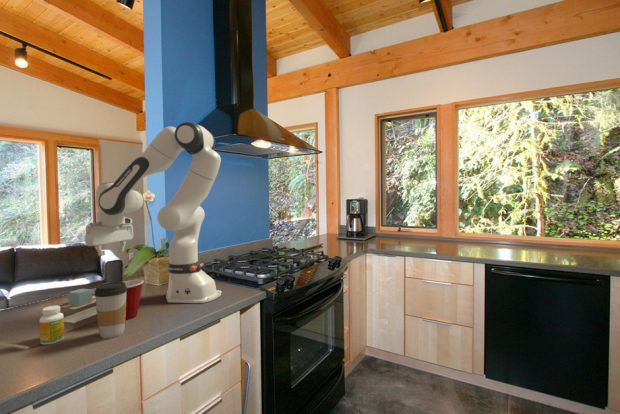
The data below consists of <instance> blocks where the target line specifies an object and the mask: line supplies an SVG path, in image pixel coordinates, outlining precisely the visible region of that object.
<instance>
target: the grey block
mask: <svg viewBox="0 0 620 414" xmlns="http://www.w3.org/2000/svg"><path fill="white" fill-rule="evenodd" d="M95 315H96V316H97V309H96V305H94V306H92V307H89V308H86V309H84V310H81V311H78V312H75V313H73V314H70V315H67V316H64V323H70V324H76V323H78V322H80V321H83V320H86V319H89V318H91V317H93V316H95Z"/></svg>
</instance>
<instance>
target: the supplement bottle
mask: <svg viewBox="0 0 620 414" xmlns="http://www.w3.org/2000/svg"><path fill="white" fill-rule="evenodd" d="M60 307H61V306H60V305H49V306H46V307H43V308H42V309H41V311H42V312H41V314H42V316H41V317H40V318H39V322H38V323H39V343H40V344H41V345H44V346H46V345H52V344H57V343H59V342H61V341H62V340H64V339H65V322H64V317H65V316H64V313H62V312H61V308H60Z"/></svg>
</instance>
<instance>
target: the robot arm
mask: <svg viewBox="0 0 620 414" xmlns="http://www.w3.org/2000/svg"><path fill="white" fill-rule="evenodd" d="M215 146H216V139H215V136H214V135H213V133H212V132H211V131H210V130H209V129H207V128H205V127H204V126H202V125H201V124H200V125H199V124H197V123H195V122H192V121H186V122H182V123H179V124H178V125H177V127H175V126H172V125H171V126H166V127H164V128H162V130H161V131H160V132H159V133H158V134H157V135H156V136H155V137H154V138H153V139H152V141H151V142H150V143H149V145H148V147H146V149H144V151H143V152H142V153H141V154H140V155H139V156H138V157H137V158H135V159H134V160H133V161H132V162H131V163H130V164H129V165H128V167H126V168H125V170H123V172H122V173H121V175H120V176H118V178H117V179H116V180H115V181H113V182H111V181H110V182H104V183H100V184H99V185H98V186H97V188H96V192H95V194H96V195H95V201H96V202H95V204H96V207H97V211H96V220H97V221H96V222H89V224H87V225H86V227H85V239H84V242H85V243H84V244H85V245H86V246H87V247H94V248H95V250H96V251H97V255H98V256H99V257H102V256H105V255H106V254H105V250H103V249H102V248H103V245H107V244H112V243H113V244H114V243H119V247H117V251H118V252H119V253H120V252H121V253H122V252H124V251H125V246H126V244H127V241H130V240H132V239H133V238H134V237H135V236H134V227H133V219H132V218H130V217H126V216H125V215H122V214H128V213H136V212H139V211H140V210H141V209H143V206H144V202H145V201H144V196H143V195H142V193H141V192H139V191H137V190H133V189H134V188H135V187H136V185H137V184H138V183H139V182H140V181H141V180H143V179H144V178H145V177H147V176H151V175H154V174H158V173H163V172H165V171H167V170H168V169H169V168H170V167H171V166H172V165H173V163H175V161H176V160H177V158H178V156H179V155H180V154H181V152H183V151H185V152H186V153H188V154H189V155H192V161H191V162H190V163H191V164H190V166H189V168H188V170H187V172H186V174H185V177H184V178H183V181H182V182H181V185H180V186H179V188H178V190H177V191H176V192H175V193H174V195H173V196H172V197H171V199H169V201H168V202H167V203H166V204H165V205H164V206H163V207H162V208H161V209H159V211H158V213H157V217H156V218H157V223H158V224H159V226H160V227H161V228H162V229H163V230H167V231H172V232H173V236H172V239H171V240H170V242H169V244H168V250H169V251H168V252H169V254H168V256H169V258H168V259H169V261H168V266H167V267H168V270H167V271H168V273H169V277H168V285H167V287H168V288H167V292H166V296H165V299H166V302H167V303H174V304H175V303H177V304H179V303H180V304H181V303H183V304H205V303H208V302H211V301H213V300H216V299H217V298H219V297H220V296H221V295H222V294H221V293H222V290H220V289H219V290H218V289H217V286H216V282H215V279H213V278H212V277H211V276H210V275H208V274H207V273H206V272H205V271H203V269H202V267H203V266H204V263H200V261H199V258H198V254H199V253H198V250H199V248H198V247H199V246H198V245H199V244H198V243H199V236H200V232H201V227H202V224H203V222H204V220H205V216H206V213H205V210H204V208H203V207H202V206H200V205H201V204H202V203H203V201H205V200H206V198H207V197H208V195H209V193H210V192H211V189H212V187H213V185H214V183H215V180H216V179H217V175H218V173H219V171H220V167H221V163H222V158H221V156H220V154H219V153H218V152H217V151H215V150H214V149H215Z"/></svg>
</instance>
